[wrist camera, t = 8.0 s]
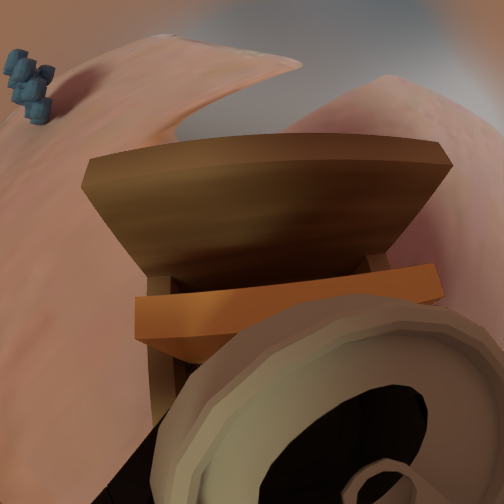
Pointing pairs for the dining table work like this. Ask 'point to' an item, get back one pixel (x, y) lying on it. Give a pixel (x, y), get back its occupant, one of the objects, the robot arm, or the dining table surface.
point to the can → (340, 411)
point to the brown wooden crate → (258, 213)
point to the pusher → (261, 307)
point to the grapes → (29, 85)
